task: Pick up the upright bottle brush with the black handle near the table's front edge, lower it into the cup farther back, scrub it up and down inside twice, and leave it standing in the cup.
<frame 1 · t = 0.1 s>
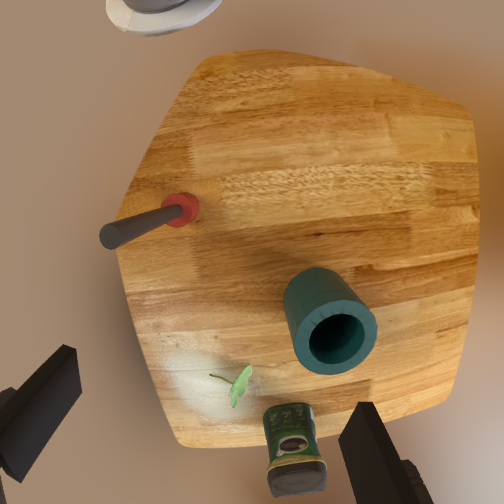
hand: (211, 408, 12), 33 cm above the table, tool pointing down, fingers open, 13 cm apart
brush: (184, 207, 42), on the table
coffee jar: (288, 415, 51), on the table
seedling: (234, 371, 49), on the table
cup: (316, 299, 45), on the table
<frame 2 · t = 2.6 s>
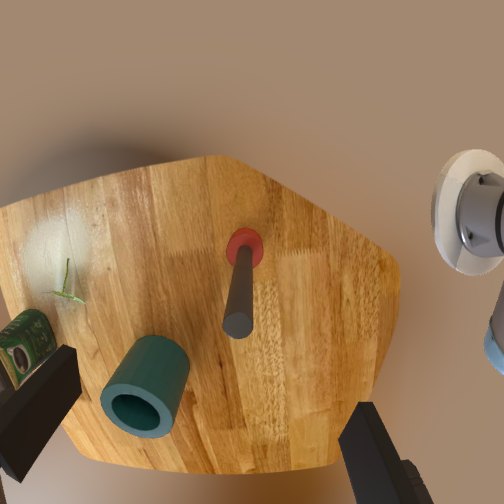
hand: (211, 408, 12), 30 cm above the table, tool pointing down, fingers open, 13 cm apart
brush: (245, 244, 40), on the table
coffee jar: (41, 330, 44), on the table
seedling: (75, 283, 42), on the table
cup: (159, 361, 45), on the table
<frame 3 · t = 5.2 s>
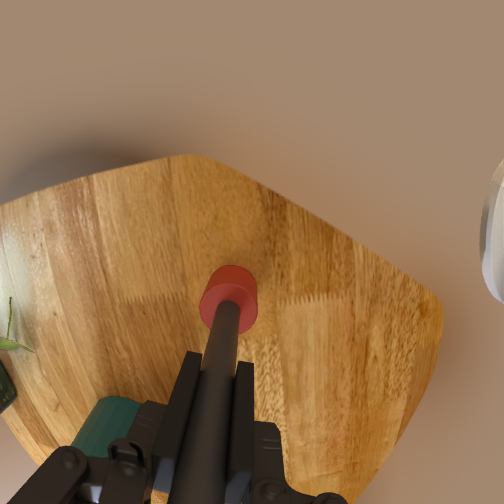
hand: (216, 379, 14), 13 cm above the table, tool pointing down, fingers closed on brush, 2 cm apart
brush: (232, 288, 27), on the table, touching gripper
seedling: (22, 327, 29), on the table
cup: (129, 424, 31), on the table
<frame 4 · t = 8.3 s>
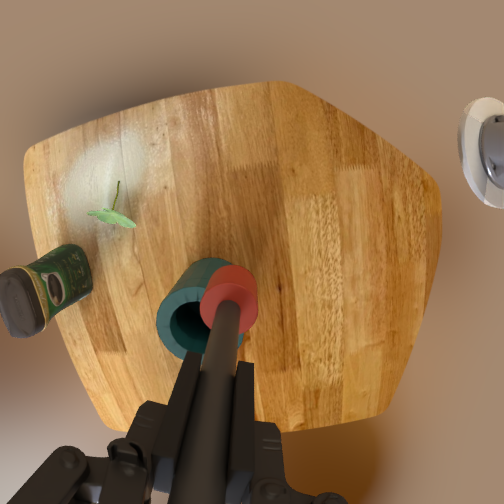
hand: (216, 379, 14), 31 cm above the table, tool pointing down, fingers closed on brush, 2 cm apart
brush: (232, 288, 27), point 17 cm above the table, touching gripper
coffee jar: (75, 270, 45), on the table
seedling: (124, 208, 43), on the table
cup: (213, 289, 45), on the table
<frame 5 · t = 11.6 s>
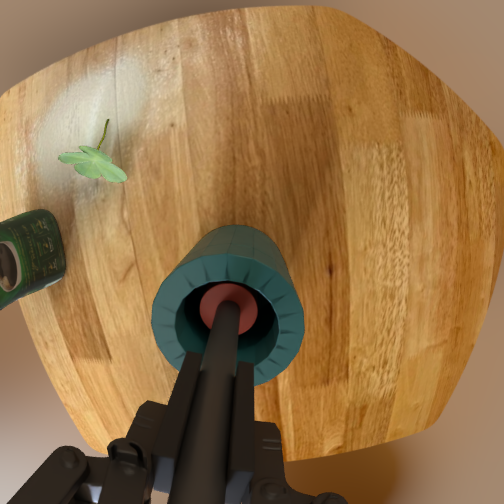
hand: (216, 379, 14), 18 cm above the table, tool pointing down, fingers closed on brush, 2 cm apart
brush: (232, 288, 27), point 5 cm above the table, touching gripper
coffee jar: (44, 246, 31), on the table
seedling: (112, 156, 29), on the table
cup: (236, 272, 32), on the table
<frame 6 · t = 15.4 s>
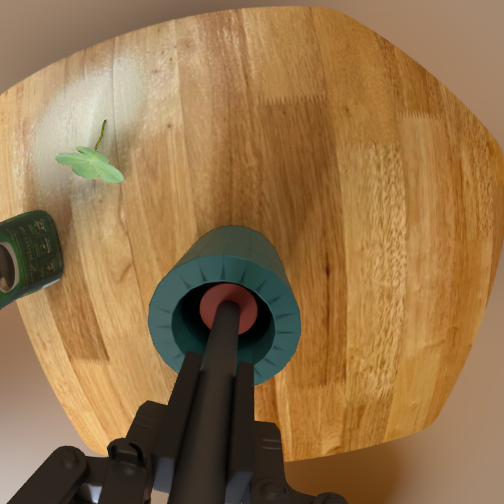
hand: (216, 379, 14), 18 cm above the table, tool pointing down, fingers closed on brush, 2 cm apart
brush: (232, 288, 27), point 5 cm above the table, touching gripper
coffee jar: (42, 247, 31), on the table
seedling: (109, 156, 29), on the table
cup: (233, 273, 32), on the table
when the fingers open (14 cm above the table, at t = 18.1 s): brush stays where it is, resting on cup.
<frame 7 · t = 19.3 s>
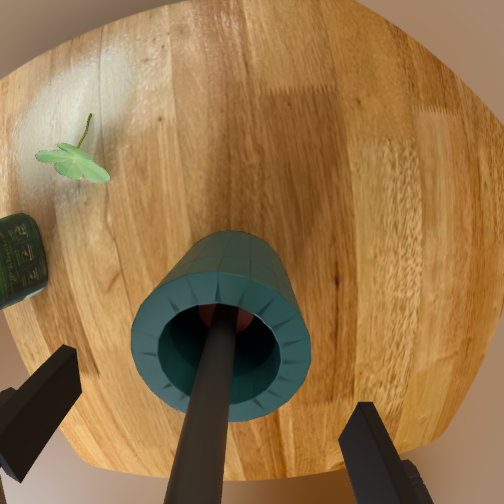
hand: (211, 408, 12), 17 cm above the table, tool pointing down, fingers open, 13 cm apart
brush: (230, 287, 27), point 1 cm above the table, touching cup
coffee jar: (26, 253, 28), on the table
seedling: (95, 154, 25), on the table
cup: (232, 284, 28), on the table
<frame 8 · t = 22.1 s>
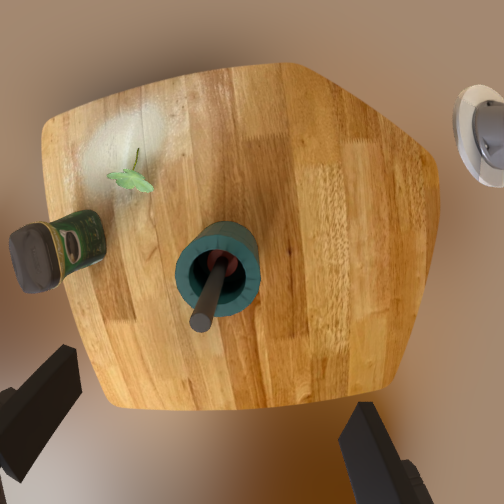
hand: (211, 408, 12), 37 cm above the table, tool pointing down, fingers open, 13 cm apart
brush: (225, 254, 47), point 1 cm above the table, touching cup
coffee jar: (88, 236, 47), on the table
seedling: (142, 174, 45), on the table
cup: (226, 252, 48), on the table
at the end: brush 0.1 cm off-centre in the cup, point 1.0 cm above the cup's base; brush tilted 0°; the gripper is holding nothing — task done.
